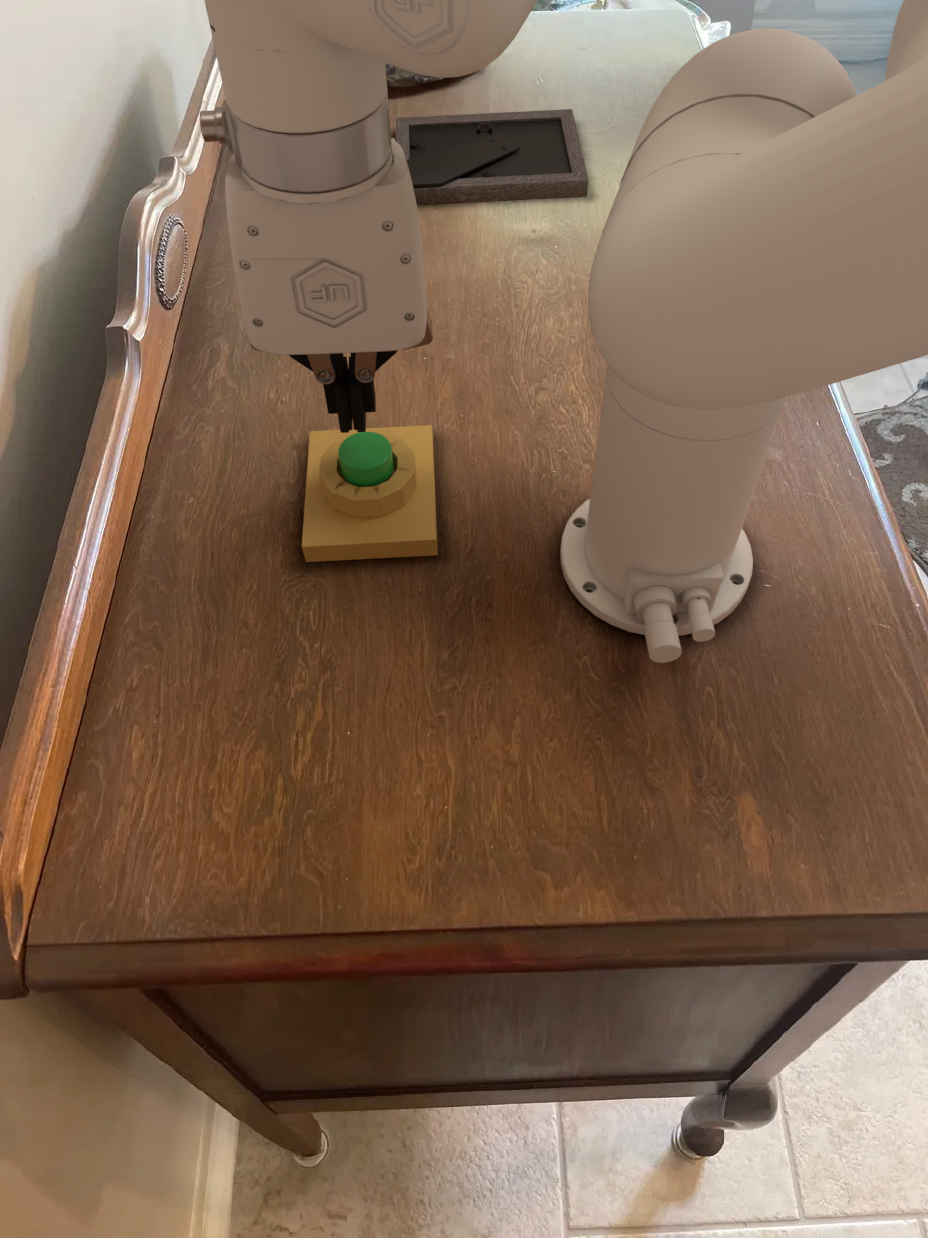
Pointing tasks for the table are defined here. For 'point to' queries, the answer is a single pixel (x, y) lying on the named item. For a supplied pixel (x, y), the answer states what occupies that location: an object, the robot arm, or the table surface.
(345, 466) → the button
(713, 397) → the robot arm
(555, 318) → the table surface
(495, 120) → the picture frame
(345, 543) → the switch block
